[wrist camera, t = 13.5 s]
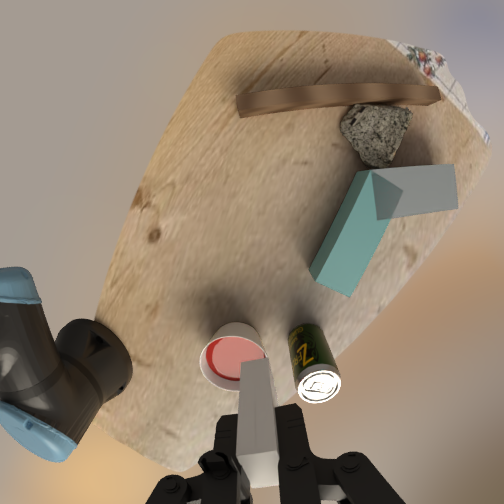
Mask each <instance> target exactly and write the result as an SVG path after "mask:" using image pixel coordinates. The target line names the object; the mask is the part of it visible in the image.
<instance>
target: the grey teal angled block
mask: <svg viewBox="0 0 504 504" xmlns="http://www.w3.org/2000/svg"><path fill="white" fill-rule="evenodd" d="M452 209H458V197H457V186H456V177H455V169H454V164H441V165H424V166H409V167H397V168H386V169H375V170H366V171H358V172H357V173H356V175H355V177H354V179H353V182H352V184H351V186H350V188H349V190H348V192H347V194H346V196H345V199H344V201H343V203H342V205H341V207H340V209H339V211H338V213H337V215H336V217H335V219H334V221H333V223H332V225H331V227H330V229H329V231H328V233H327V235H326V237H325V239H324V241H323V243H322V245H321V247H320V249H319V251H318V253H317V255H316V257H315V259H314V261H313V263H312V264H311V266H310V268H309V271H310V273H311V275H312V277H313V278H314V280H315V282H317V283H320V284H322V285H324V286H326V287H328V288H330V289H332V290H335V291H337V292H339V293H341V294H343V295H345V296H348V297H350V296H351V295H352V293H353V291H354V289H355V288H356V286H357V284H358V282H359V280H360V278H361V277H362V275H363V273H364V271H365V269H366V267H367V266H368V264H369V262H370V260H371V258H372V256H373V254H374V252H375V250H376V248H377V246H378V244H379V242H380V240H381V238H382V236H383V234H384V232H385V230H386V228H387V226H388V224H389V222H390V219H392V218H398V217H405V216H412V215H418V214H425V213H432V212H439V211H445V210H452Z"/></svg>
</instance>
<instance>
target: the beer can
mask: <svg viewBox="0 0 504 504" xmlns="http://www.w3.org/2000/svg"><path fill="white" fill-rule="evenodd" d="M288 345H289V351H290V357H291V363H292V369H293V376H294V382H295V388H296V390H297V392H298V393H299V395H300V397H301V398H302V399H303V400H305V401H307V402H310V403H320V402H324V401H327V400H329V399H331V398H332V397H334V396H335V395H336V394H337V392H338V391H339V389H340V384H341V381H340V378H341V376H340V373H339V370H338V368H337V365H336V363H335V360H334V358H333V355H332V353H331V350H330V348H329V345H328V343H327V340H326V338H325V336H324V333H323V331H322V330H321V329H320V327H318V326H316V325H314V324H309V323H307V324H301V325H299V326H297V327H296V328H294V329H293V331H292V332H291V333H290V335H289V338H288Z"/></svg>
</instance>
